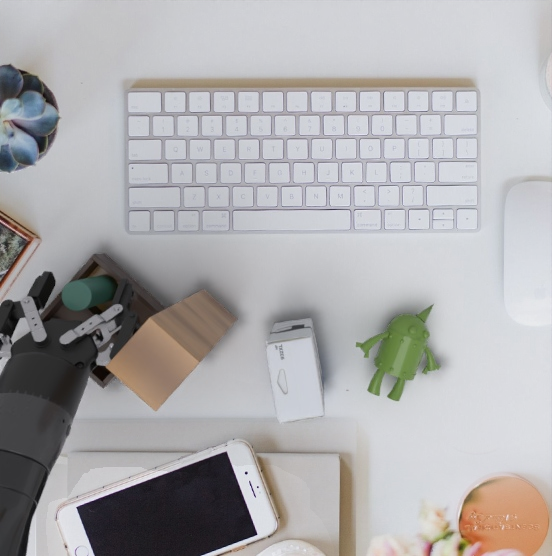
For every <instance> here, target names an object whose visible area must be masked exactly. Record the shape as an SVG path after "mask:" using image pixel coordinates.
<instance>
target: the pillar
mask: <svg viewBox="0 0 552 556" xmlns="http://www.w3.org/2000/svg"><path fill="white" fill-rule="evenodd" d="M237 321H238V318H237V317H236V316H235V315H233V314H232V313H231V312H230V311H229V310H228V309H227V308H226V307H225V306H223V305H222V304H221V303H220V302H219V301H218V300H217V299H215V298H214V297H213V296H212V295H211V294H210V293H209V292H208V291H206V289H204V288H203V289H200V290H199V291H197V292H195V293H193V294H191V295H190V296H187V297H186V298H184V299H182V300H180V301H178V302H176V303H174V304H172V305H171V306H168V307H167V308H166V309H165V310H163V311H161V312H159V313H157V314H155V315H153V316H151V317H149V318H148V319H147V321H146V322H145V323H144V324H143V325H142V326H141V327H140V328H139V330H138V331H137V332H136V333H135V334H134V335H133V336H132V337H131V339H130V340H129V341H128V342H127V343H126V344H125V345H124V346H123V348H122V349H121V350H120V351H119V352H118V353H117V354H116V355H115V357H114V358H113V359H112V360H111V361H110V362H109V363H108V364H107V366H106V368H107V369H108V370H109V371H110V372H112V373H113V374H114V375H115V376H116V378H117V379H119V381H121V382H122V383H123V384H124V385H125V386H126V387H127V388H128V389H129V390H131V391H132V393H134V394H135V395H136V396H137V397H138V398H139V399H141V400H142V401H143V402H144V403H145V404H146V405H148V406H149V407H150V408H151V410H153V411H154V412H157V411H158V410H159V409H160V408H161V407H162V406H163V404H164V403H165V402H166V401H167V400H169V398H170V397H171V396H172V394H173V393H174V392H175V391H176V390H177V389H178V388H179V387H180V385H182V384H183V382H184V381H185V380H187V378H188V377H189V376H190V375H191V373H192V372H193V371H194V370H195V369H196V368H197V366H199V364H200V363H201V362H202V361H203V360H204V359H205V357H207V355H208V354H209V353H210V352H211V351H212V350H213V348H214V347H215V346H216V345H217V344H218V343H219V342H220V340H221V339H222V338H223V337H224V336H225V335H226V334H227V333H228V331H229V330H230V329H231V328H232V327H233V325H235V324H236V322H237Z"/></svg>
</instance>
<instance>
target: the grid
mask: <svg viewBox="0 0 552 556" xmlns="http://www.w3.org/2000/svg"><path fill="white" fill-rule="evenodd" d="M100 275H109V276H111V277H113V278H114V279H115V280H116V282H117V285H119V283H120V280H121V278H126V279H129V282H130V284H132V286H133V290H134V295H135V296H134V299H133V301H132V304H131V307H130V310H129V311H137V312H138V315H139V319H140V322H141V326H142V325H143V324H144V323H145V322H146V321H147V319H148V318H149V317H151V316H153V315H155V314H157V313H159V312H161V311H163V310H165V309H167V308H166V306H164V305H163V304H162V303H161V302H160V301H159V300H158V299H157V298H155V297H154V296H153V295H152V294H151V293H150V292H148V290H147V289H146V288H145V287H143V286H142V285H141V284H140V283H138V282H137V281H136V280H135V279H134V278H133V277H131V275H130V274H129V273H127V272H126V271H125V270H124V269H123V268H122V267H121V266H120V265H119V264H117V263H116V262H115V261H114V260H113V259H111V257H109V256H108V255H107V254H106V253H105V252H100V253H93V254H92V255H91V257H90V258H89V259H88V260H87V261H86V262H85V263H84V265H83V266H82V267H81V268H80V269H78V271H77V273H75V275H73V277H72V278H71V279H70V280H69V282H72V281H76V280H81V279H85V278H90V277H95V276H100ZM112 301H113V299H112V300H110V301H108V302H105V303H102V304H99V305H96V306H93V307H90V308H87V309H84V310H81V311H73V310H70V309H68V308H67V307H66V306H65V305H64V303H63V301H62V290H61V291H60V292H59V293H58V294H56V296H55V297H54V299H53V300H52V301H51V302H49V304H48V305H47V306H46V307H45V308H44V309H43V311H42V312H41V313H40V315H41V317H42V320H43V322H46V321H50V319H51V318H56V319H61V320H64V321H71V320H78V321H82V323H84V322H85V321H86V320H88V319H89V318H91V317H92V316H94V315H96V314H98V315H100V314H102V313H103V312H105V311H106V310H108V309H109V308H110V307H112ZM120 329H121V328H120ZM120 329H119V330H118V331H116V332H115V333H114V334H112V336H111V338H110V340H109V341H107V342H106V343H105V344H103V345H102V346H101V347H99V348H98V351H99V352H103V351H105V350H106V349H107V348H108V346H109V344H110V343H115V340H116V338H117V336H118V333H119V331H120ZM96 333H97V331H96V330H94V331H93V332H91V335H92V337H94V336H95V335H96ZM89 378H90V379H91V380H92V381H94V383H96V384H97V385H98V386H99V387H100V388H101V389H104V388H106V387H107V386H109V385H110V384H111V383H113V382H114V381H115V380H116V378H117V377H116V376H115V375H114V374H113V373H112V372H110V371H109V370H108V369H107V368H106V366H101V365H98V366H97V367H96V368H94V369H93V370H92V372H91V373H90V375H89Z"/></svg>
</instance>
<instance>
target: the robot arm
mask: <svg viewBox="0 0 552 556" xmlns="http://www.w3.org/2000/svg"><path fill="white" fill-rule="evenodd" d="M56 284H57V279H56V278H55V275H54V273H53V272H52V271H47V270H45V271H43V272H42V274H41V275H38V276H37V277H36V278H35V279H34V281H33V283H32V285H31V287H30V289H29V291H28V292H27V295H26V296H24V297H22V298H21V299H20V300H15V301H13V300H12V299H5V300H3V301H2V302H1V303H0V361H1V360H2V359H3V358H8V359H7V361H6V362H5V364H4V366H3V368H2V370H1V372H0V556H27V555H28V548H29V540H30V531H31V526H32V522H33V519H34V517H35V514H36V511H37V509H38V507H39V504H40V501H41V498H42V495H43V492H44V490H45V487H46V485H47V482H48V480H49V477H50V475H51V473H52V470H53V468H54V466H55V464H56V463H57V461H58V459H59V457H60V455H61V453H62V451H63V448H64V446H65V443H66V441H67V439H68V437H69V436H70V434H71V430H72V425H73V423H74V420H75V417H76V415H77V412H78V409H79V407H80V404H81V401H82V398H83V395H84V393H85V391H86V387H87V385H88V381H89V378H90V377H89V375H90V373H91V372H92V370H93V369H94V368H96V367H97V366H98V365H101V366H107V364H108V363H109V362H110V361H111V360H112V359H113V358H114V357H115V355H116V354H117V353H118V352H119V351H120V350H121V349H122V348H123V346H124V345H125V344H126V343H127V342H128V341H129V340H130V339H131V337H132V336H133V335H134V334H135V333H136V332H137V331H138V330H139V328H140V327H141V322H140V319H139V315H138V312H137V311H129V310H130V307H131V304H132V301H133V299H134V296H135V295H134V290H133V286H132V284H130V282H129V279H126V278H121V280H120V283H119V285H118V288H117V290H116V293H115V296H114V298H113V301H112V307H110V308H109V309H108V310H106V311H105V312H103V313H102V314H100V315H98V314H96V315H94V316H92V317H91V318H89V319H88V320H86V321H85V322H84V323H82V321H78V320H71V321H64V320H61V319H56V318H51V319H50V321H46V322H43V320H42V317H41V313H40V310H45V309H46V307H47V304H48V302H49V300H50V297H51V295H52V293H53V291H54V289H55V287H56ZM24 318H25V320H26V322H27V325H28V327H29V330H30V331H29V332H27V333H26V334H24V335H23V336H21V337H20V338H18V339H17V340H15V341H14V342H13V340H12V337H13V335H14V333H15V331H16V329H17V327H18V324H19V322H20V320H21V319H24ZM120 328H121V329H120ZM119 329H120V331H119V333H118V336H117V338H116V340H115V343H110V344H109V346H108V348H107V349H106V350H105V351H103V352H99V351H98V348H99V347H101V346H102V345H103V344H105V343H106V342H107V341H109V340H110V338H111V336H112V334H114V333H115V332H116V331H118V330H119ZM94 330H96V331H97V333H96V335H95V336H94V337H92V335H91V332H93V331H94Z"/></svg>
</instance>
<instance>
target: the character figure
mask: <svg viewBox="0 0 552 556" xmlns="http://www.w3.org/2000/svg"><path fill="white" fill-rule="evenodd" d="M434 304H435V303H433V304H431V305H429V306H428V307H426V308H425V309H423V310H422V311H420V312H418V313H417V314H413V313H401V314H399V315H396V316H395V317H393V318H392V320H391V321H390V322H389V324H388V325H387V326H386V328H385V330H384V331H383V332H381V333H379V334H376V335H373V336H372V337H369V338H368V339H366V340H365V341H364V342H358V341H357V342H355V348H360V351H362V352H363V353H364V354H363V358H364V359H369V358H370V351H371V349H372V348H373V347H374V346H375V345H376V344H377V343H378V342H379V341H381V342H380V345H379V348H378V351H377V353H376V356H375V357H374V358H373V366H374V367H375V368H377V370H376V371H375V372H374V374H373V376H372V377H371V380H370V382H369V384H368V387H367V389H366V391H367V392H368V393H370V394H372V395H374V396H378V397H380V396H381V387H382V383H383V379H384V376H385V374H388V375H391V376H393V377H395V378H397V379H396V381H395V382H394V385H393V387H392V388H391V390H390V391H389V392H388V393H387V395H386V397H387V398H388V399H389V400H391V401H395V402H400V400H401V397H402V396H403V393H404V388H405V385H406V381H414V380H415V377H416V375H417V372H418V369H419V367H420V364H421V361H422V358H423V355H424V353H425V357H426V366H425V367H424V368H423V370H422V372H421V373H422V374H423V375H427V374H428V372H434V371H436V370H437V371H439V370H440V368H441V365H440V364H437V363H436V359H435V357H434V354H433V352H432V350H431V349H430V347H429V346H428V341H429V340H428V339H429V338H430V336H431V333H430V332H429V329H428V327H427V324H426V323H427V320H428V318H429V316H430V314H431V312H432V309H433V307H434Z"/></svg>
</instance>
